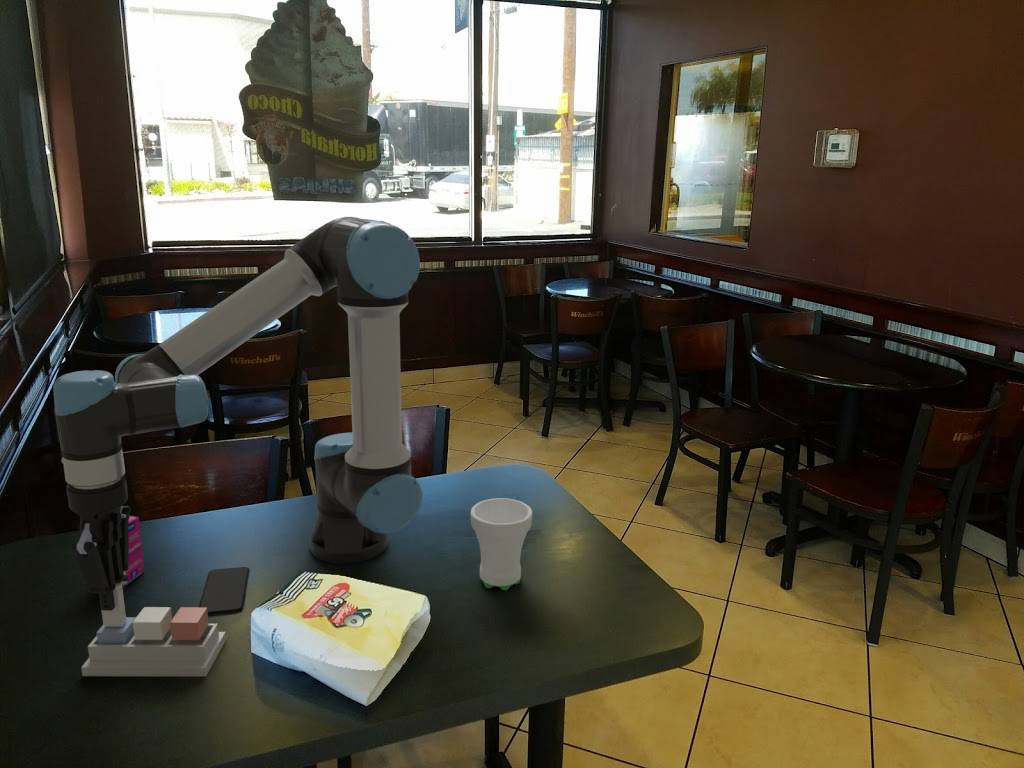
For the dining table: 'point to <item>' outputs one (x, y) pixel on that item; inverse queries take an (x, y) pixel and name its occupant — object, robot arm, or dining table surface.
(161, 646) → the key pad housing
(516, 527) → the cup
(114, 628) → the blue key
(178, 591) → the dining table surface
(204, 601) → the smartphone
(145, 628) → the white key
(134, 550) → the supplement box
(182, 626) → the red key
